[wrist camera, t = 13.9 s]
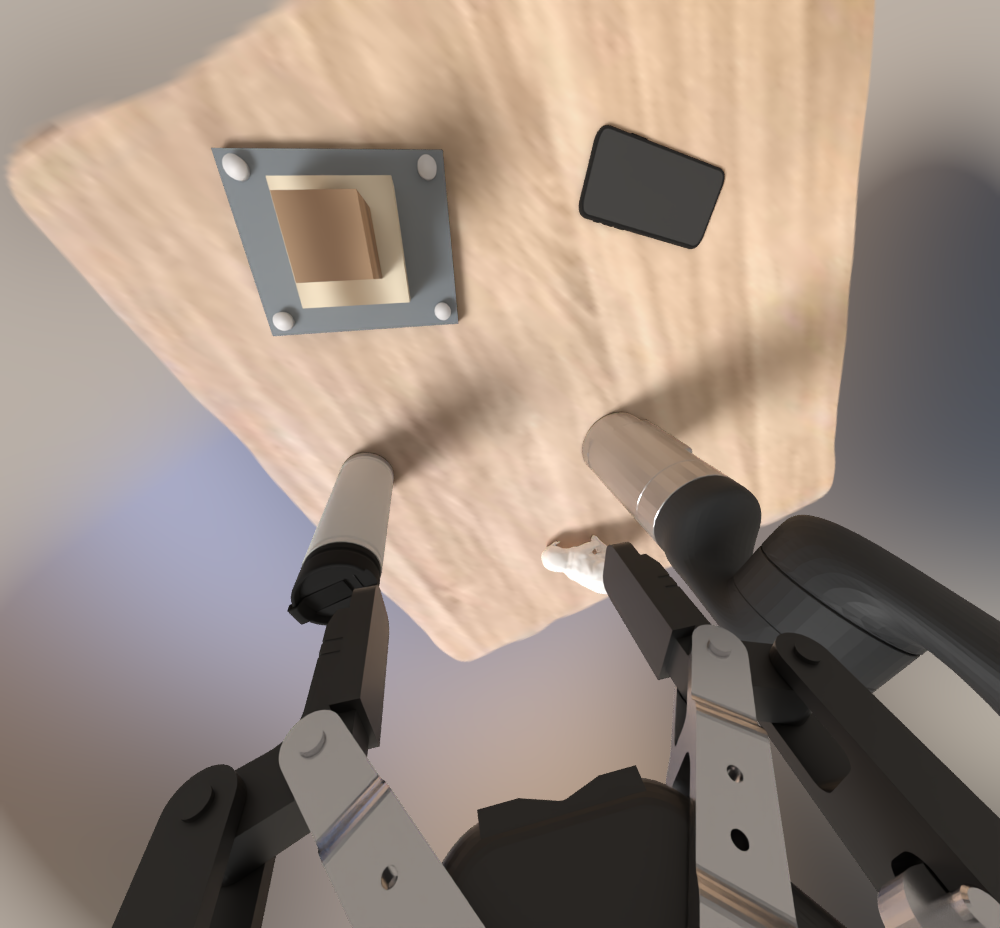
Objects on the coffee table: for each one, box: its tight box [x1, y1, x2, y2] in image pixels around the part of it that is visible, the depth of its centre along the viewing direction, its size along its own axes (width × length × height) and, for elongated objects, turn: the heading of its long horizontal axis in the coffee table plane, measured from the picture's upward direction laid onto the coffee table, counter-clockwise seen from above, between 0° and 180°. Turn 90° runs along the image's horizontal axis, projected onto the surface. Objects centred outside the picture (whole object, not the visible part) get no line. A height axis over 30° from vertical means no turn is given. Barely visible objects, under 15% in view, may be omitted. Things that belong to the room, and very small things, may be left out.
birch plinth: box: [266, 175, 411, 308], centre depth 31 cm, size 9×9×4 cm
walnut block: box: [270, 189, 383, 283], centre depth 26 cm, size 5×5×7 cm
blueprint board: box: [211, 148, 458, 336], centre depth 33 cm, size 18×14×2 cm
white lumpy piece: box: [542, 535, 607, 594], centre depth 54 cm, size 6×8×12 cm
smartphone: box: [579, 125, 724, 249], centre depth 36 cm, size 7×1×15 cm
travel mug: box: [288, 453, 394, 625], centre depth 36 cm, size 6×7×20 cm
